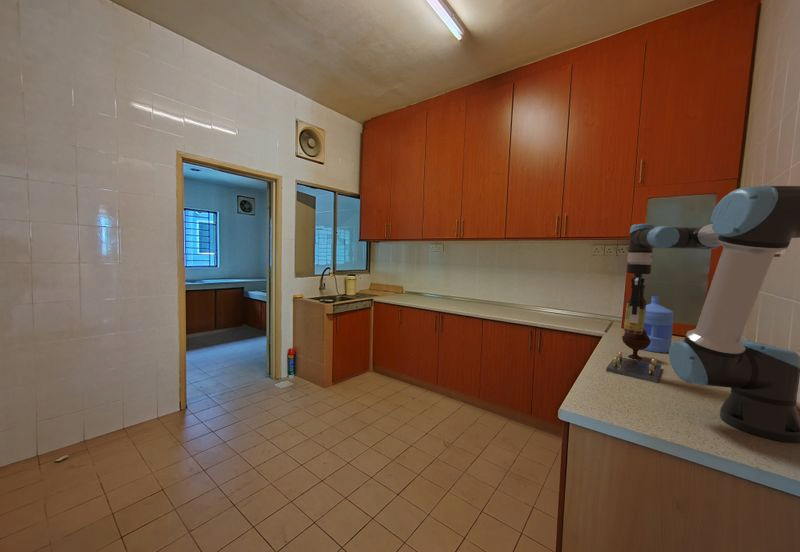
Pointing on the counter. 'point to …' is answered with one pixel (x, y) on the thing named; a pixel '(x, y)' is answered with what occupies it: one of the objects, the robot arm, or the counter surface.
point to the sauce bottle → (638, 327)
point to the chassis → (635, 368)
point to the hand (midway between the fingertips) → (634, 321)
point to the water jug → (658, 326)
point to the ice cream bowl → (636, 343)
